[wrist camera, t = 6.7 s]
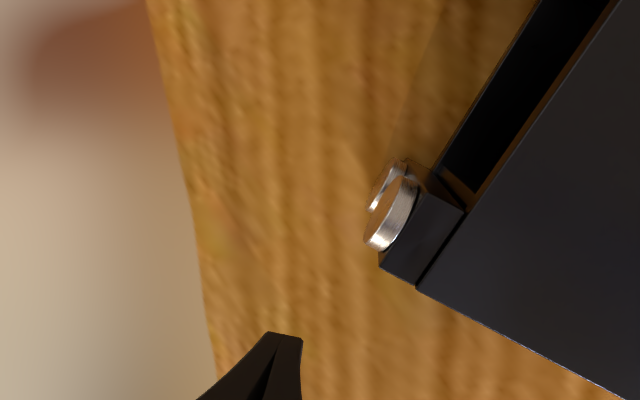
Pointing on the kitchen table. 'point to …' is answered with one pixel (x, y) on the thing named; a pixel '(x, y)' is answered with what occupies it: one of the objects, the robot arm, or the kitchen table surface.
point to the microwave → (536, 197)
